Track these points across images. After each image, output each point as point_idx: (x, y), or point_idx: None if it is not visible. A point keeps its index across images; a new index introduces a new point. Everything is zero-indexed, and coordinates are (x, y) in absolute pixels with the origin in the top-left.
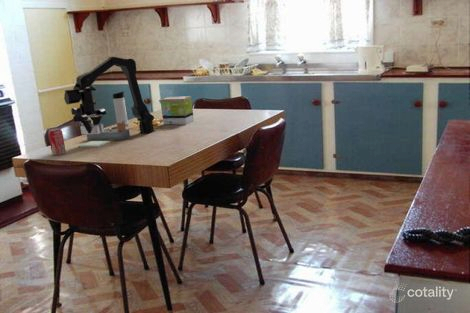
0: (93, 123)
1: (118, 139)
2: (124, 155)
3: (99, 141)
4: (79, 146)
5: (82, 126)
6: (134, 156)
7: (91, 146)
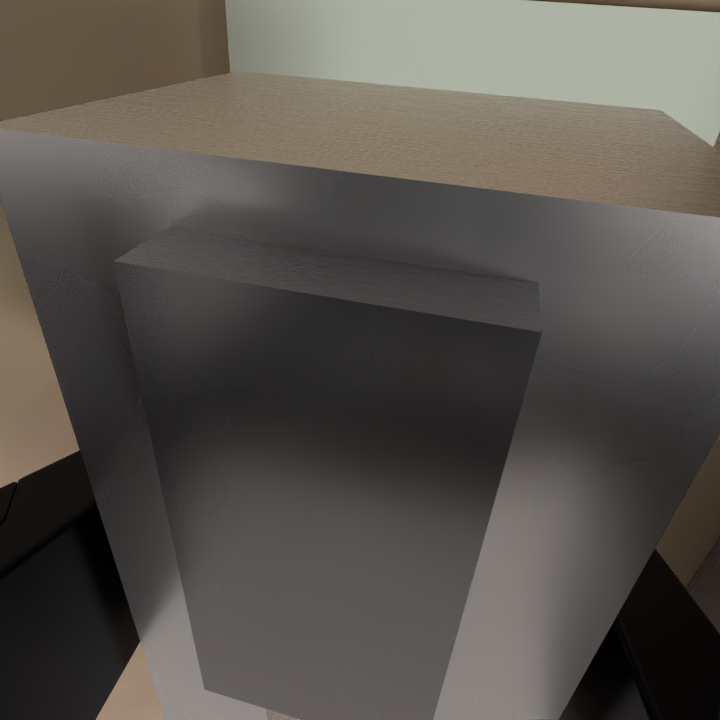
0: (627, 704)
1: (709, 561)
2: None
3: None
4: (233, 17)
5: (41, 311)
6: None
7: None
